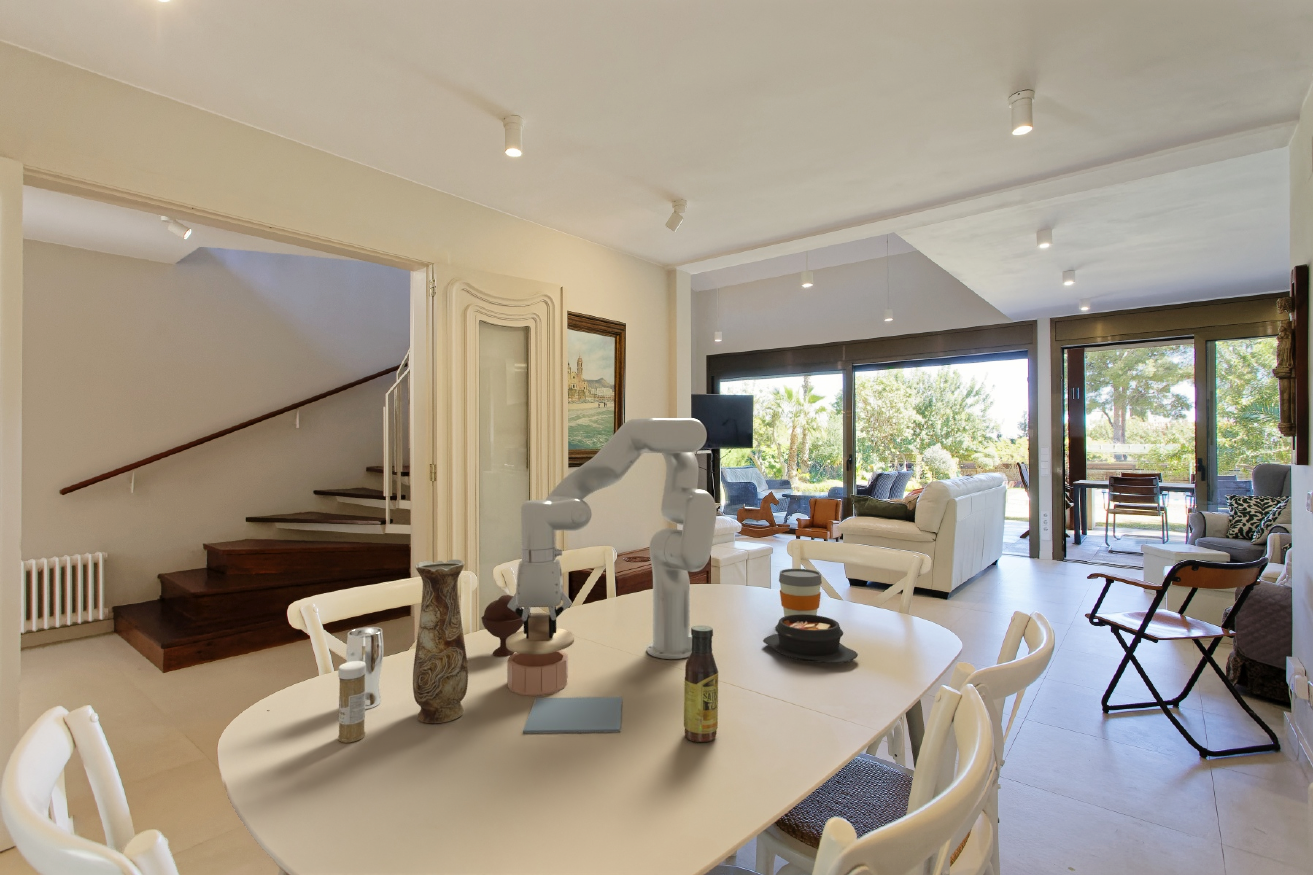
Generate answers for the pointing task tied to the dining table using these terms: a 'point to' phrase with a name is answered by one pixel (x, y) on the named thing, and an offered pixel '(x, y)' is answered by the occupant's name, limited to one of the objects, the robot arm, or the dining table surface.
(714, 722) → the sauce bottle
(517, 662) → the bowl
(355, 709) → the sprinkles bottle
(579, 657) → the dining table surface
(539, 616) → the lid
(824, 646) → the casserole
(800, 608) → the reusable coffee cup
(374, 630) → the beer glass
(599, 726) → the mat
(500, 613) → the ice cream bowl
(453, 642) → the vase
